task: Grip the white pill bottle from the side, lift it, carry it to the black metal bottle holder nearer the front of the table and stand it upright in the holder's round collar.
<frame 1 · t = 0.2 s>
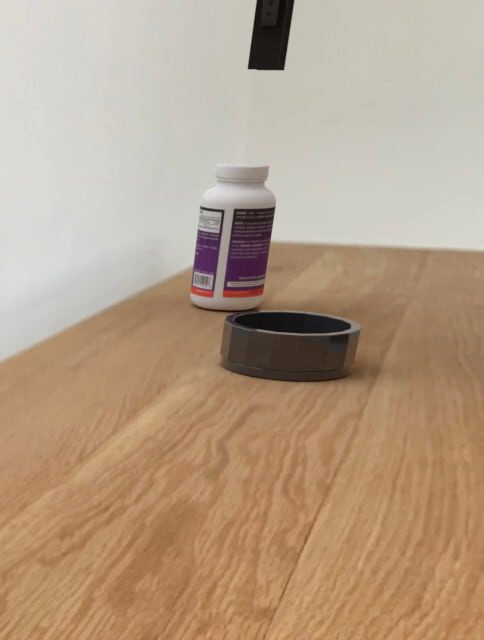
hand: (266, 70, 108), 23 cm above the table, tool pointing down, fingers open, 13 cm apart
bottle holder: (284, 366, 101), on the table
pill bottle: (224, 308, 126), on the table
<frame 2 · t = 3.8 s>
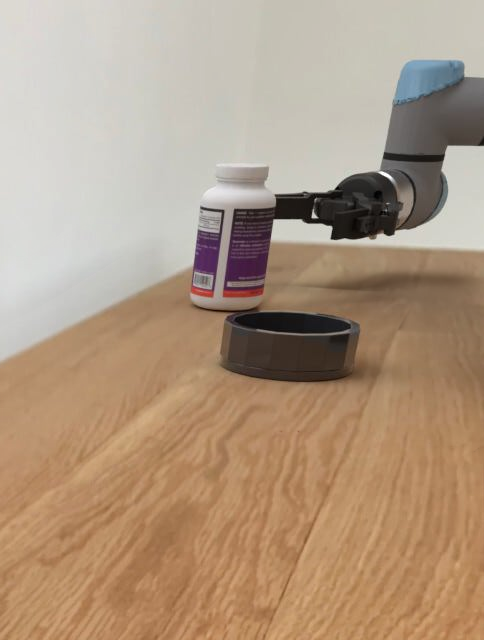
hand: (281, 220, 128), 8 cm above the table, tool horizontal, fingers open, 13 cm apart
nothing on the table moved.
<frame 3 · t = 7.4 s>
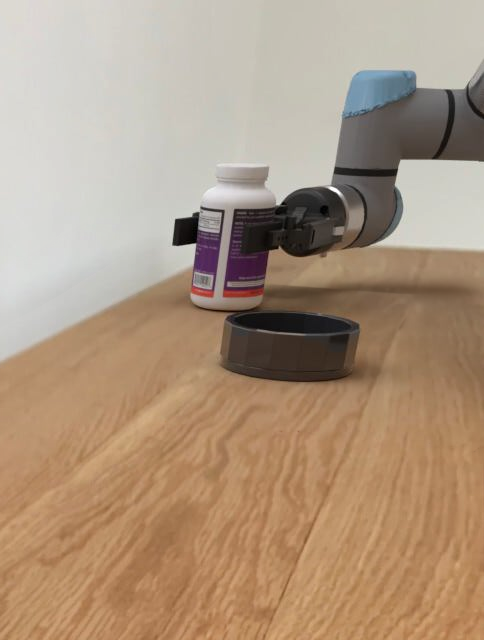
hand: (210, 236, 120), 8 cm above the table, tool horizontal, fingers closed on pill bottle, 8 cm apart
pill bottle: (224, 308, 126), on the table, touching gripper
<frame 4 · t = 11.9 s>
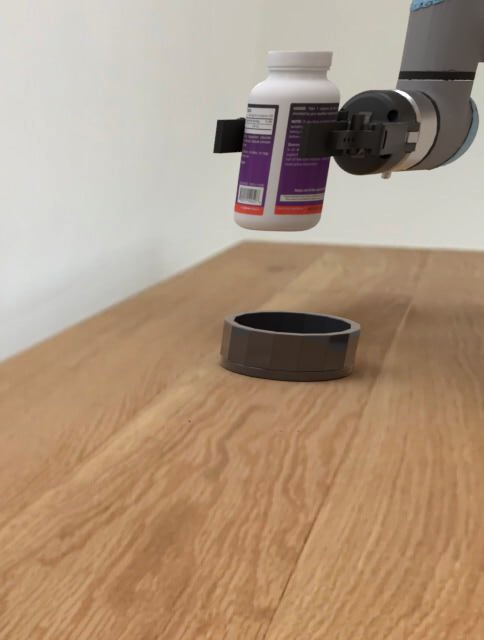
hand: (260, 138, 99), 18 cm above the table, tool horizontal, fingers closed on pill bottle, 8 cm apart
pill bottle: (274, 230, 106), point 10 cm above the table, touching gripper
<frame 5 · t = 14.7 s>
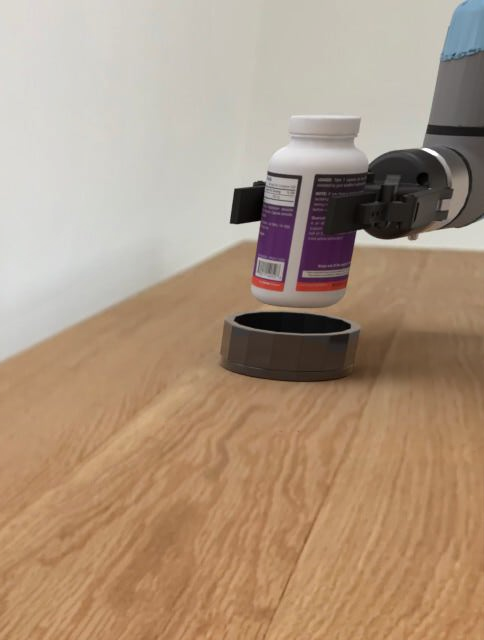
hand: (281, 211, 91), 13 cm above the table, tool horizontal, fingers closed on pill bottle, 8 cm apart
pill bottle: (294, 305, 98), point 5 cm above the table, touching gripper
when the fingers open (8 cm above the table, at t = 16.5 s): pill bottle stays where it is, resting on bottle holder.
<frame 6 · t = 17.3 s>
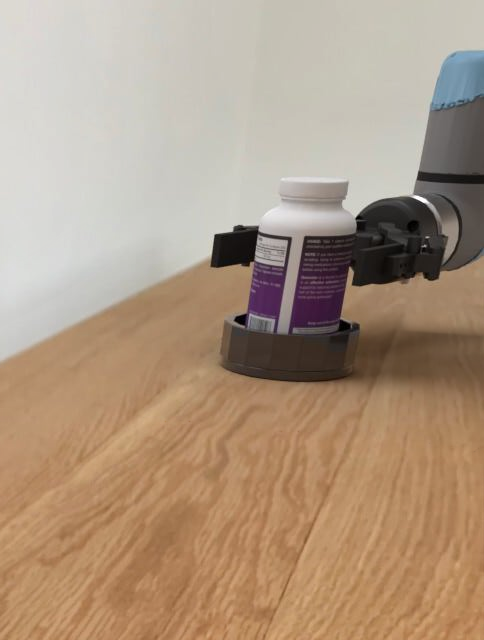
hand: (283, 259, 94), 9 cm above the table, tool horizontal, fingers open, 13 cm apart
pill bottle: (285, 358, 100), point 1 cm above the table, touching bottle holder
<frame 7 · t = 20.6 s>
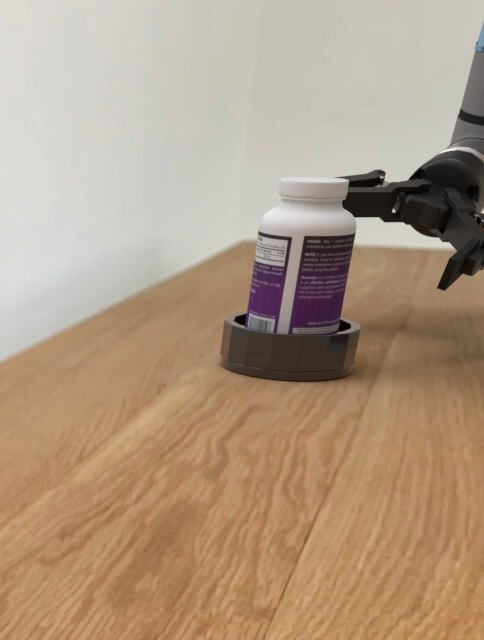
hand: (375, 250, 101), 9 cm above the table, tool horizontal, fingers open, 13 cm apart
nothing on the table moved.
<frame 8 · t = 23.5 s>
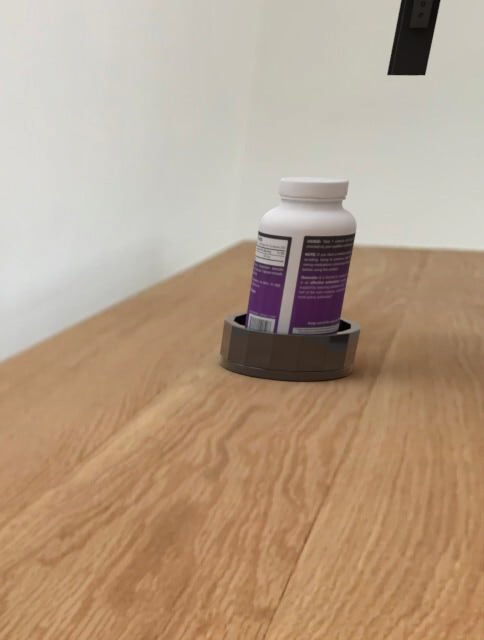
hand: (404, 76, 100), 23 cm above the table, tool pointing down, fingers open, 13 cm apart
nothing on the table moved.
at the end: pill bottle 0.1 cm off-centre in the bottle holder, point 0.6 cm above the bottle holder's base; pill bottle tilted 0°; the gripper is holding nothing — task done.
